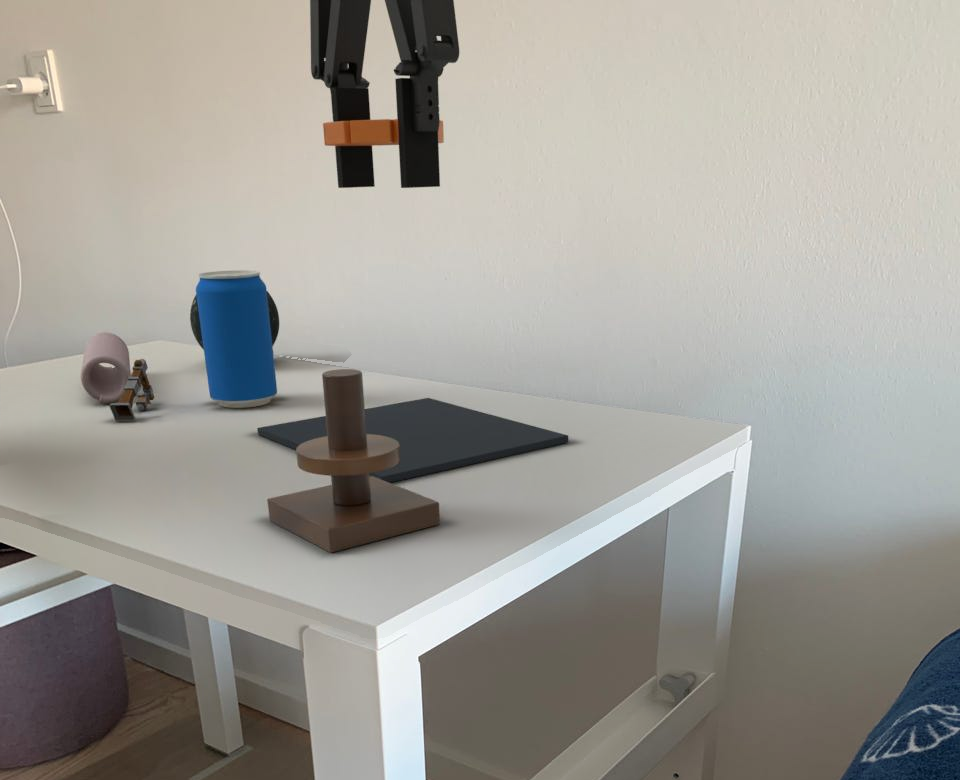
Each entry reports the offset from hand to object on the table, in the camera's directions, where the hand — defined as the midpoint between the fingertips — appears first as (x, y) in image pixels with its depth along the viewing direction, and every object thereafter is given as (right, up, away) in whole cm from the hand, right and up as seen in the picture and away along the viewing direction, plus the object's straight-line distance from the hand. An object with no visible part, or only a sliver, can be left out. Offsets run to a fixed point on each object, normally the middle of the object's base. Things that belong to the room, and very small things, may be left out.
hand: (387, 186), depth 72 cm
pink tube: (-33, -6, +35) cm, 48 cm away
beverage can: (-17, -9, +27) cm, 33 cm away
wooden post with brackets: (-26, -11, +24) cm, 37 cm away
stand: (-1, -25, -7) cm, 26 cm away
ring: (0, +2, -1) cm, 3 cm away
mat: (+1, -16, +12) cm, 20 cm away
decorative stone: (-22, 0, +46) cm, 51 cm away
